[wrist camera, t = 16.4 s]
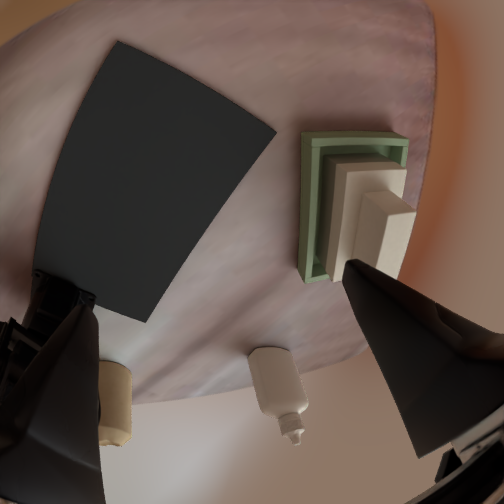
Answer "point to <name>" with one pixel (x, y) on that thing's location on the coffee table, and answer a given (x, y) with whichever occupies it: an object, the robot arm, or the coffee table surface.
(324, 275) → the tray
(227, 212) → the coffee table surface
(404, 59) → the coffee table surface
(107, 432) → the candle
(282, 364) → the eye dropper bottle
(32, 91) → the coffee table surface
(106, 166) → the mat
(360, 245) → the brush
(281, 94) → the coffee table surface
